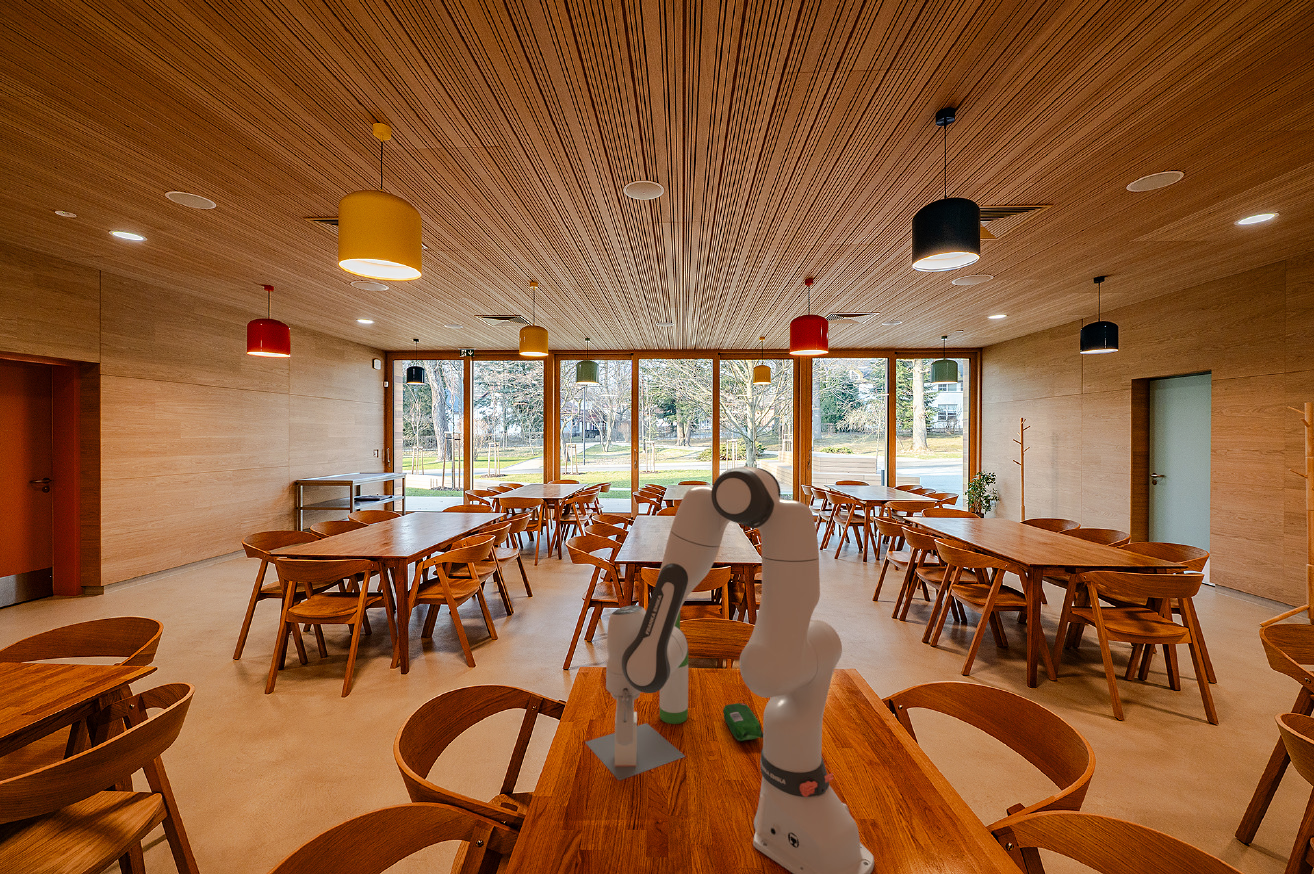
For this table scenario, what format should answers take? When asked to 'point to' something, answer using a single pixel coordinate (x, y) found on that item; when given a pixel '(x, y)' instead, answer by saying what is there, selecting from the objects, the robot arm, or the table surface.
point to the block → (626, 749)
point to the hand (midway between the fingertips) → (624, 742)
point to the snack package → (742, 722)
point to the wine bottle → (675, 693)
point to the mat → (648, 754)
